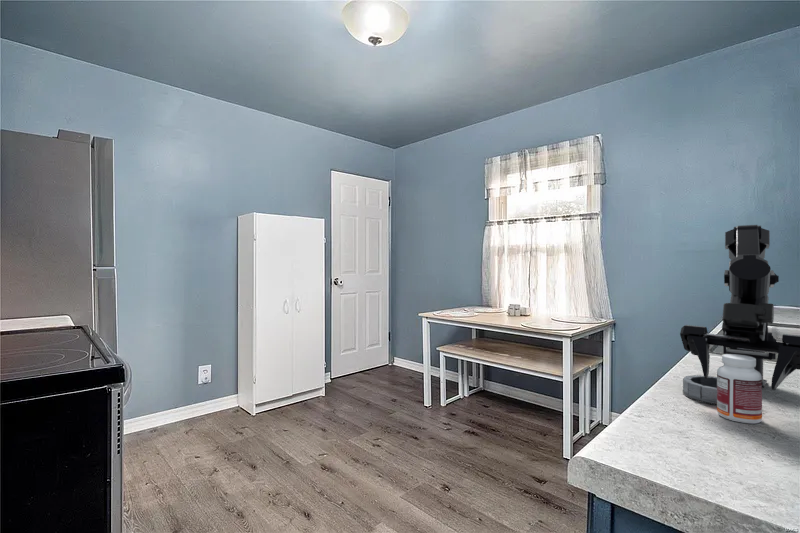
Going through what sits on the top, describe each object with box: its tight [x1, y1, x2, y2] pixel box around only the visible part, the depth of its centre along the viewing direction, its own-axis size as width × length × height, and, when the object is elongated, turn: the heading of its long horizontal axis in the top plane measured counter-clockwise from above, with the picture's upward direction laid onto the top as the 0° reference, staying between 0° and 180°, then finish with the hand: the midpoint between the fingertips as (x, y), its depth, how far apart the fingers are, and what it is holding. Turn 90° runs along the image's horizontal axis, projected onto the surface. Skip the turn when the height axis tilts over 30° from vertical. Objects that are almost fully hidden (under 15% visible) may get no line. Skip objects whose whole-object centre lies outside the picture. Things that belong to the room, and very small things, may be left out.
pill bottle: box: [716, 354, 763, 425], centre depth 72 cm, size 6×6×11 cm
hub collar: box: [682, 374, 717, 406], centre depth 82 cm, size 11×11×3 cm
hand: (737, 382), depth 71 cm, fingers open, 9 cm apart
